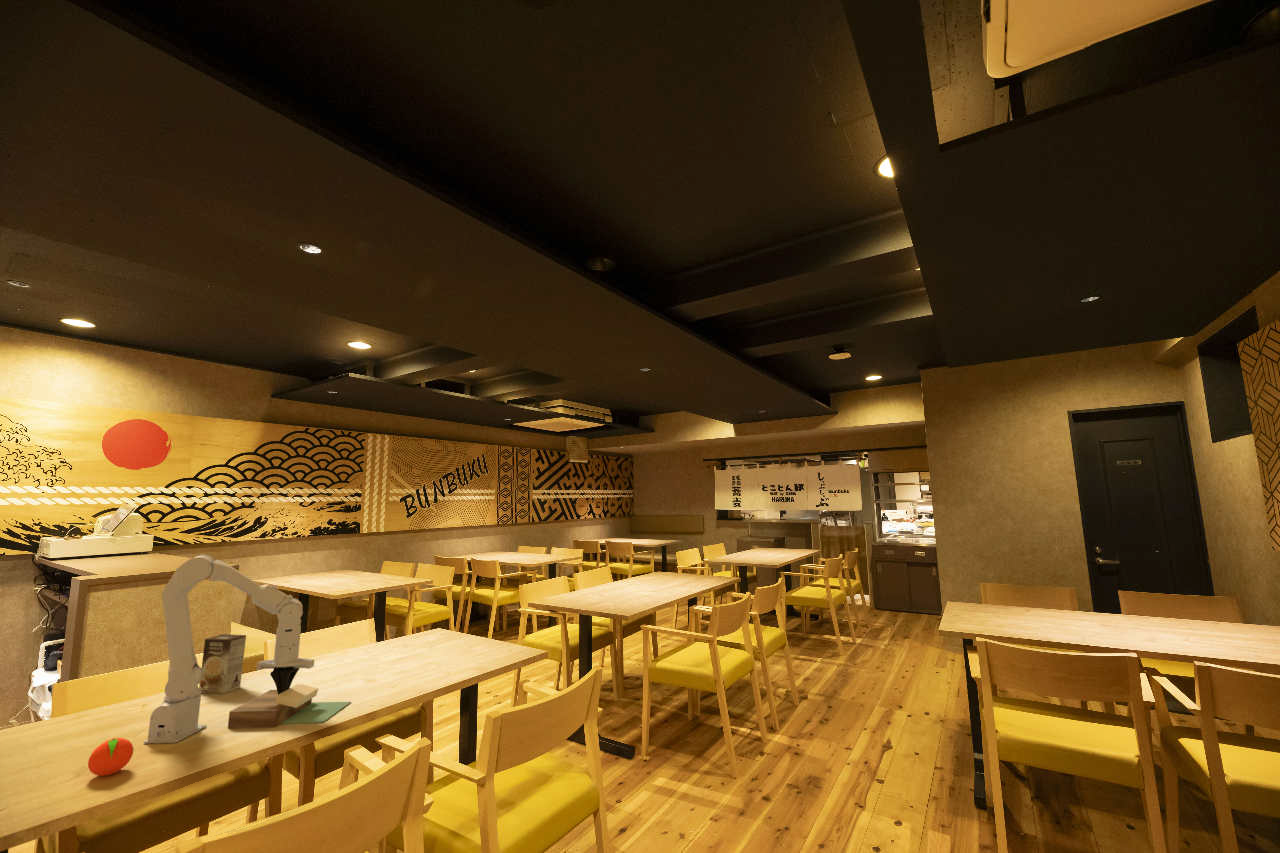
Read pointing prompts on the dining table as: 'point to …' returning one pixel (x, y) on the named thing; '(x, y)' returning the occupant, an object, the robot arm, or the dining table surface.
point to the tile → (296, 695)
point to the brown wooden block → (262, 712)
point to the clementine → (110, 756)
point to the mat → (316, 712)
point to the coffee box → (222, 663)
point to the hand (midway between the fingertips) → (282, 695)
